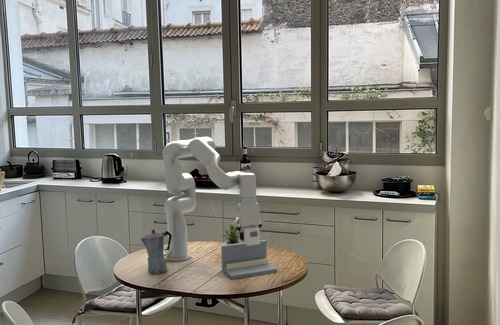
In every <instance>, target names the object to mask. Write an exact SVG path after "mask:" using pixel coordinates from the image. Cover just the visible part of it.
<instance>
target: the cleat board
mask: <svg viewBox="0 0 500 325" xmlns="http://www.w3.org/2000/svg"><path fill="white" fill-rule="evenodd" d="M220 248H221V251H220V252H221V270H222V271H223V272H224V273H225V274H226V275H227V276H228V277H229V278H230V279H231V280H235V279H240V278H247V277H248V278H249V277H253V276H259V275H268V274H273V273H277V272H278V268H277V267H276V266H274V265H273V264H271V263H270V262H268V257H267V240H266V239H262V240H261V239H260V244H257V245H250V246H247V245H246V244H245V243H243V242H240V243H237V244H230V245H227V244H225V245H224V244H223V245H221V246H220Z"/></svg>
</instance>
